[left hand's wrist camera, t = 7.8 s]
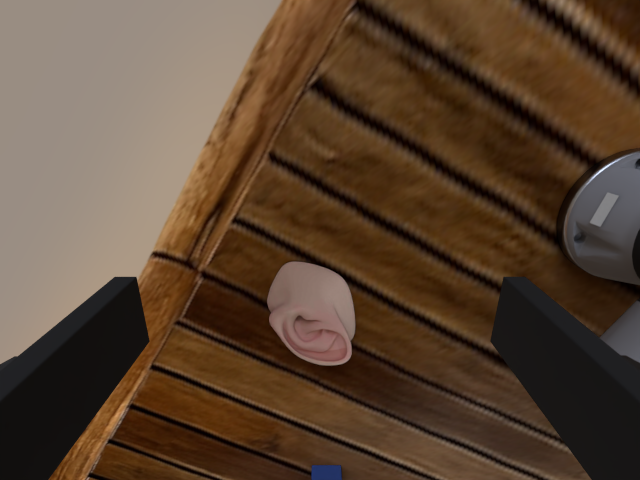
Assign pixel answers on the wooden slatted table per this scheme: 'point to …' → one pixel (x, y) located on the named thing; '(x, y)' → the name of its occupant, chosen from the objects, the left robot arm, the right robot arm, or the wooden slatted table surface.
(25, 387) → the left robot arm
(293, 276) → the anatomical model
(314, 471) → the brick
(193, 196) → the wooden slatted table surface
